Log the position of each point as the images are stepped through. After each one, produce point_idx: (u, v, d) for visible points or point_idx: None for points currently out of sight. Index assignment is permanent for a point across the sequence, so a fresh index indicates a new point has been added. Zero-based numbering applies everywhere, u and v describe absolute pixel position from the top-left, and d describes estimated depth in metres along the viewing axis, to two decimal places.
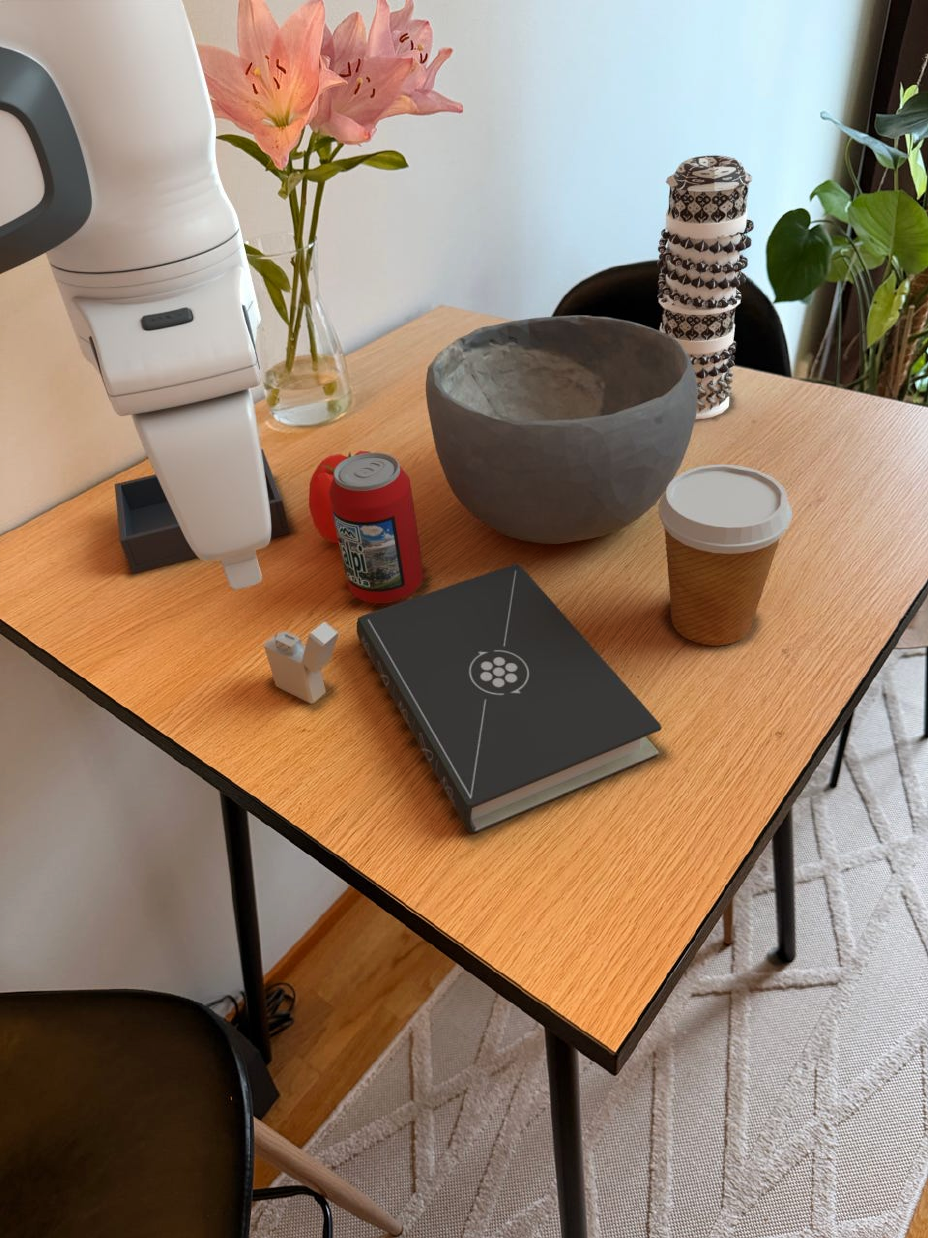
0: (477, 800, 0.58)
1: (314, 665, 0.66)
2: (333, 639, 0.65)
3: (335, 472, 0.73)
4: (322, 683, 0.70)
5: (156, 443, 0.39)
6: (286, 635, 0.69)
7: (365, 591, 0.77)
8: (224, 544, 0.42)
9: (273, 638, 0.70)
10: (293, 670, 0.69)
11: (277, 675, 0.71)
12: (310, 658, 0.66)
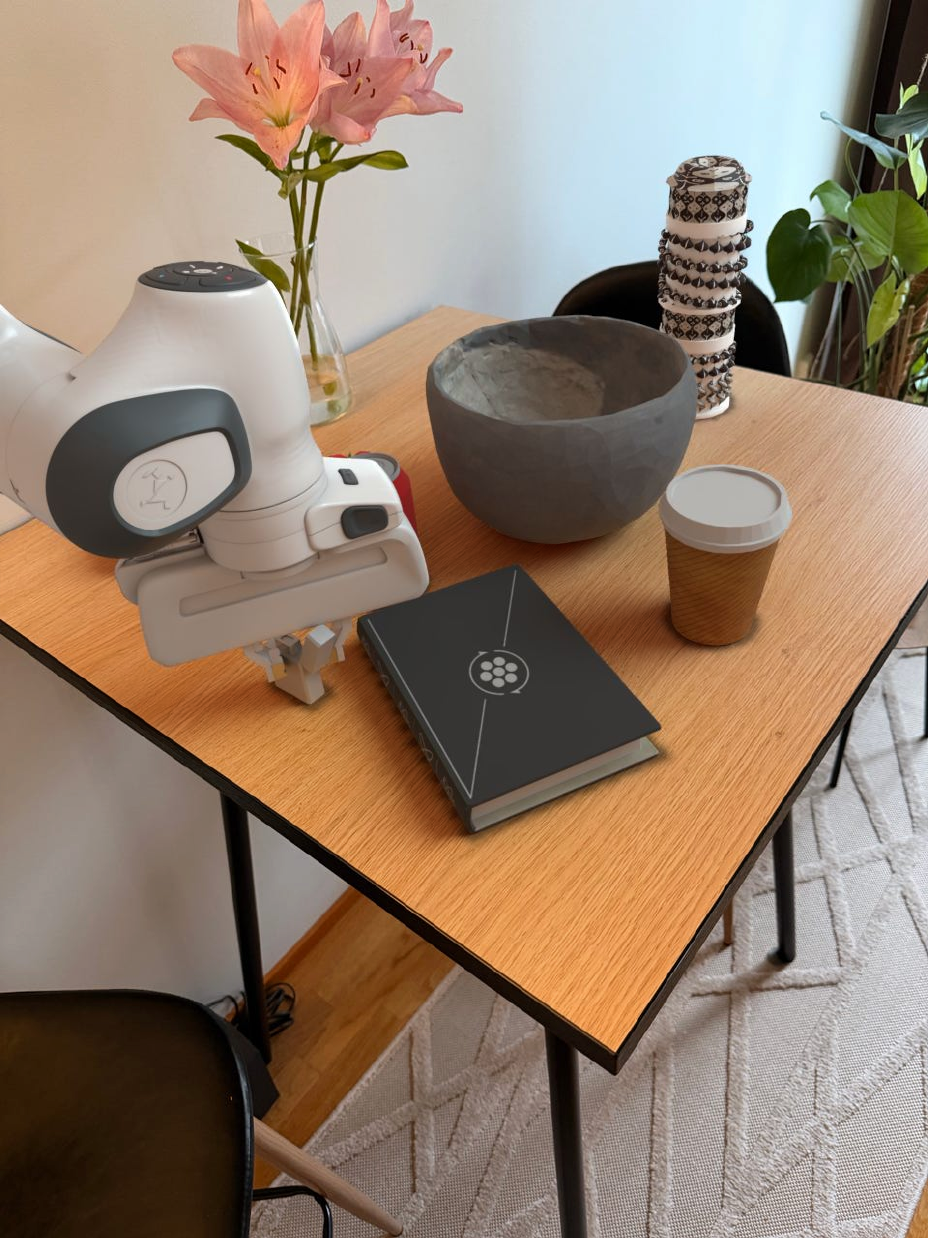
0: (477, 800, 0.58)
1: (312, 666, 0.66)
2: (330, 641, 0.65)
3: None
4: (321, 684, 0.70)
5: (410, 527, 0.62)
6: (286, 635, 0.69)
7: None
8: None
9: None
10: (291, 670, 0.69)
11: None
12: (307, 659, 0.66)
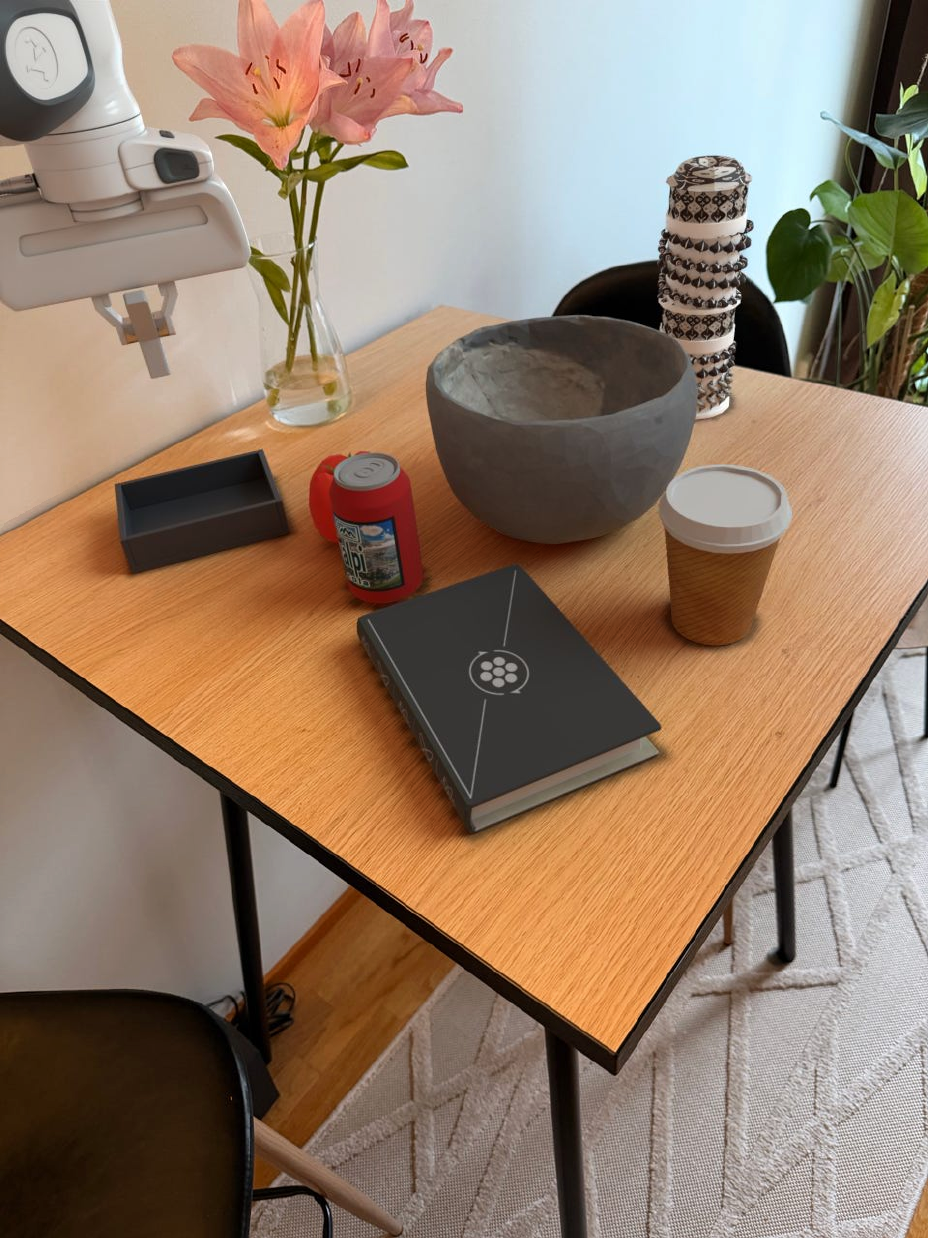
0: (477, 800, 0.58)
1: (134, 330, 0.75)
2: (142, 306, 0.73)
3: (335, 472, 0.73)
4: (164, 364, 0.79)
5: (225, 187, 0.72)
6: None
7: (365, 591, 0.77)
8: None
9: None
10: None
11: None
12: None
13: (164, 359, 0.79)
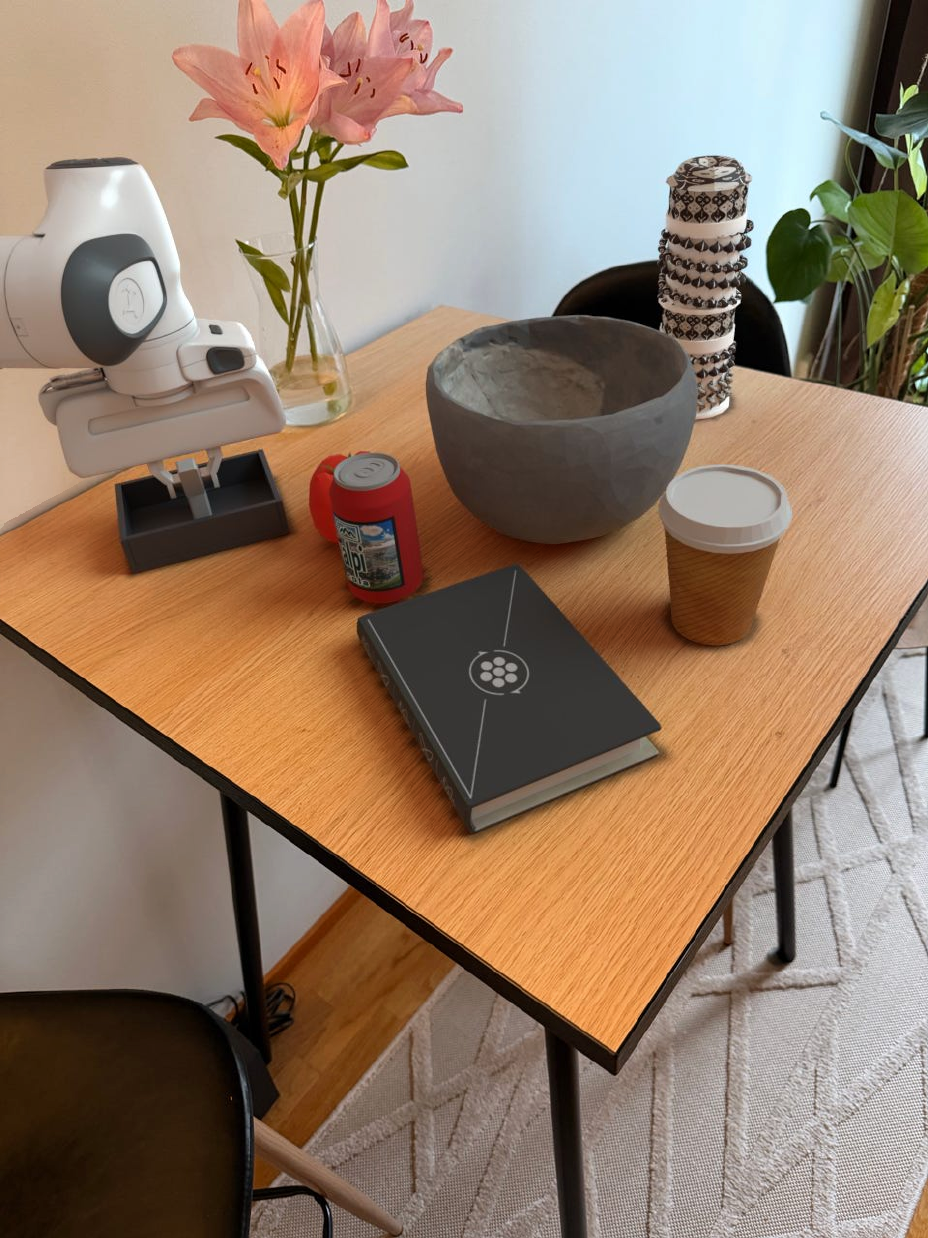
0: (477, 800, 0.58)
1: None
2: (192, 472, 0.84)
3: (335, 472, 0.73)
4: (207, 511, 0.90)
5: (265, 371, 0.82)
6: None
7: (365, 591, 0.77)
8: None
9: None
10: None
11: None
12: None
13: (208, 507, 0.89)
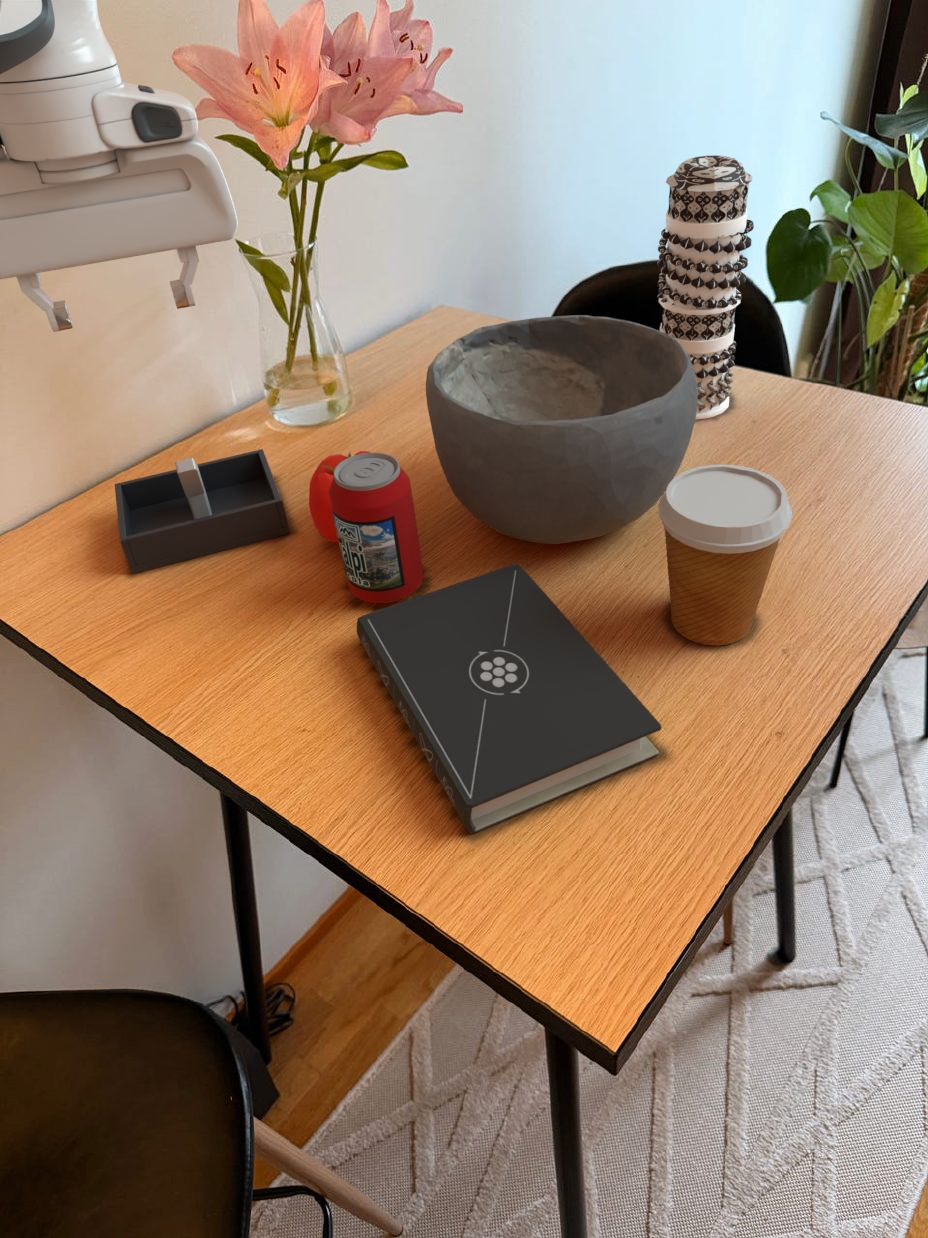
0: (477, 800, 0.58)
1: None
2: (192, 473, 0.84)
3: (335, 472, 0.73)
4: (207, 511, 0.90)
5: (210, 149, 0.65)
6: None
7: (365, 591, 0.77)
8: None
9: None
10: None
11: None
12: None
13: (208, 507, 0.89)
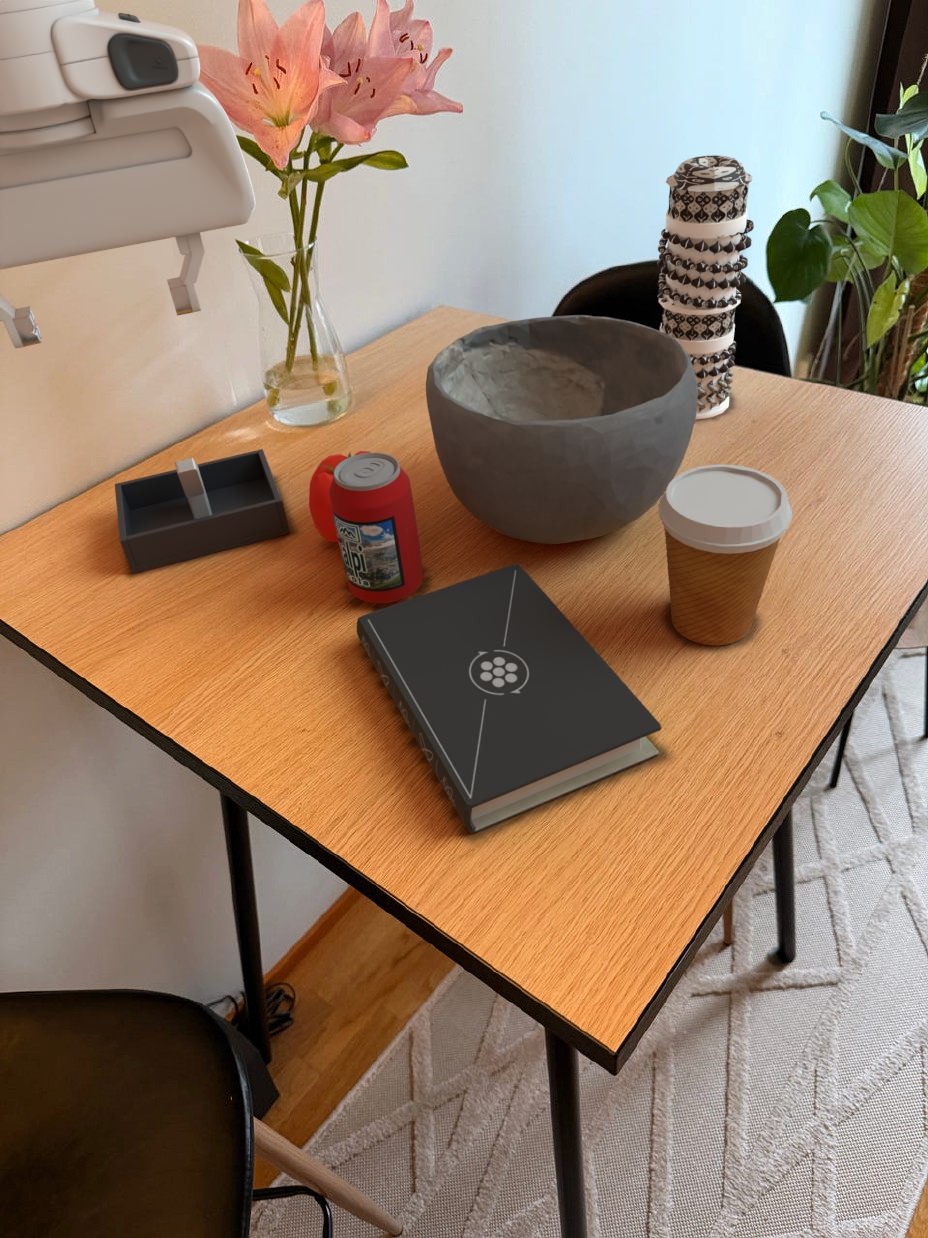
0: (477, 800, 0.58)
1: None
2: (192, 473, 0.84)
3: (335, 472, 0.73)
4: (207, 511, 0.90)
5: (217, 100, 0.48)
6: None
7: (365, 591, 0.77)
8: None
9: None
10: None
11: None
12: None
13: (208, 507, 0.89)
